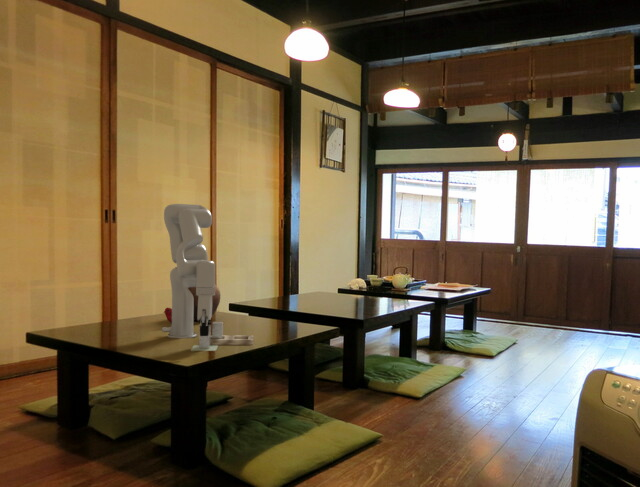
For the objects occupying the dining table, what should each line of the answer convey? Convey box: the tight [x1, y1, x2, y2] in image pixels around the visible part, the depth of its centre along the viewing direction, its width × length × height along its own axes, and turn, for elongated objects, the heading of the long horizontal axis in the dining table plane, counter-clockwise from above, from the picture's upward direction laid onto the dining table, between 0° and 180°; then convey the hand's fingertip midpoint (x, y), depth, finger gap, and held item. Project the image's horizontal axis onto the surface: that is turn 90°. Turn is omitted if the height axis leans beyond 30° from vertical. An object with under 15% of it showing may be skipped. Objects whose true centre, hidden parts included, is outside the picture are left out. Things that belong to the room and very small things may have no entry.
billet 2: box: [211, 321, 224, 339], centre depth 230 cm, size 4×4×9 cm
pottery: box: [188, 284, 221, 321], centre depth 289 cm, size 23×23×25 cm
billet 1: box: [198, 324, 212, 349], centre depth 219 cm, size 4×4×9 cm
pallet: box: [210, 334, 254, 346], centre depth 231 cm, size 20×10×2 cm, turn 95°
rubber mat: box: [190, 344, 219, 352], centre depth 219 cm, size 10×10×1 cm
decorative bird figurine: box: [163, 307, 172, 324], centre depth 269 cm, size 3×18×10 cm, turn 139°
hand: (205, 333), depth 218 cm, fingers open, 9 cm apart
